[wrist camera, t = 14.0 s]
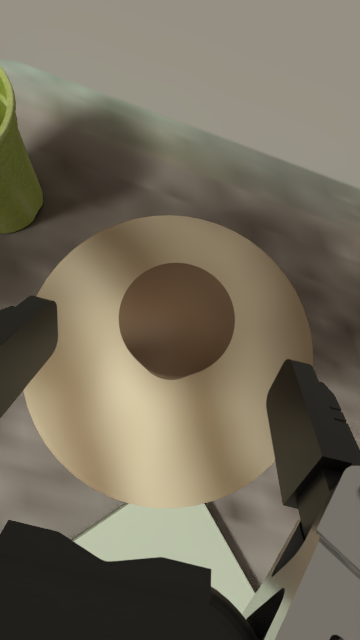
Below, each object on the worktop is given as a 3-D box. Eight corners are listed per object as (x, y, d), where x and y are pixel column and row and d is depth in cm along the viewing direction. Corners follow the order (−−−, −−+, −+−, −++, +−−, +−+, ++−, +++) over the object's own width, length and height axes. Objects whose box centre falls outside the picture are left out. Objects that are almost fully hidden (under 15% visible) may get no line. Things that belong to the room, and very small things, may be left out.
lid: (116, 566, 13) (62, 781, 6) (-15, 302, 16) (-167, 232, 9) (355, 393, 16) (519, 400, 9) (210, 188, 18) (241, 57, 11)
